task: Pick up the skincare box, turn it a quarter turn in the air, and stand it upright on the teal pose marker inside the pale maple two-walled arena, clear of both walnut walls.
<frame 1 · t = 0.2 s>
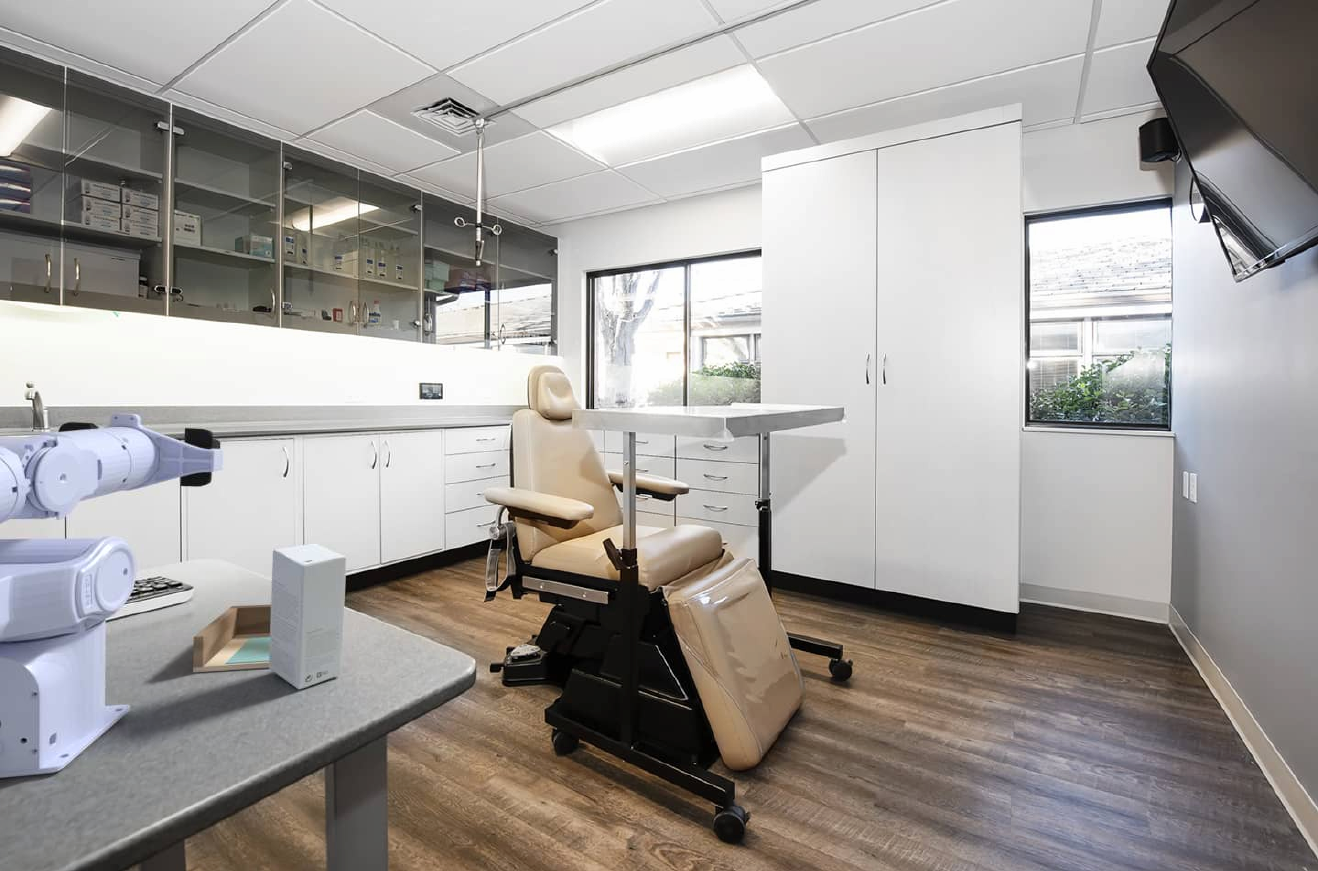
hand: (174, 448, 65), 21 cm above the table, tool horizontal, fingers open, 7 cm apart
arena: (273, 649, 66), on the table
skincare box: (305, 673, 61), on the table, touching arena
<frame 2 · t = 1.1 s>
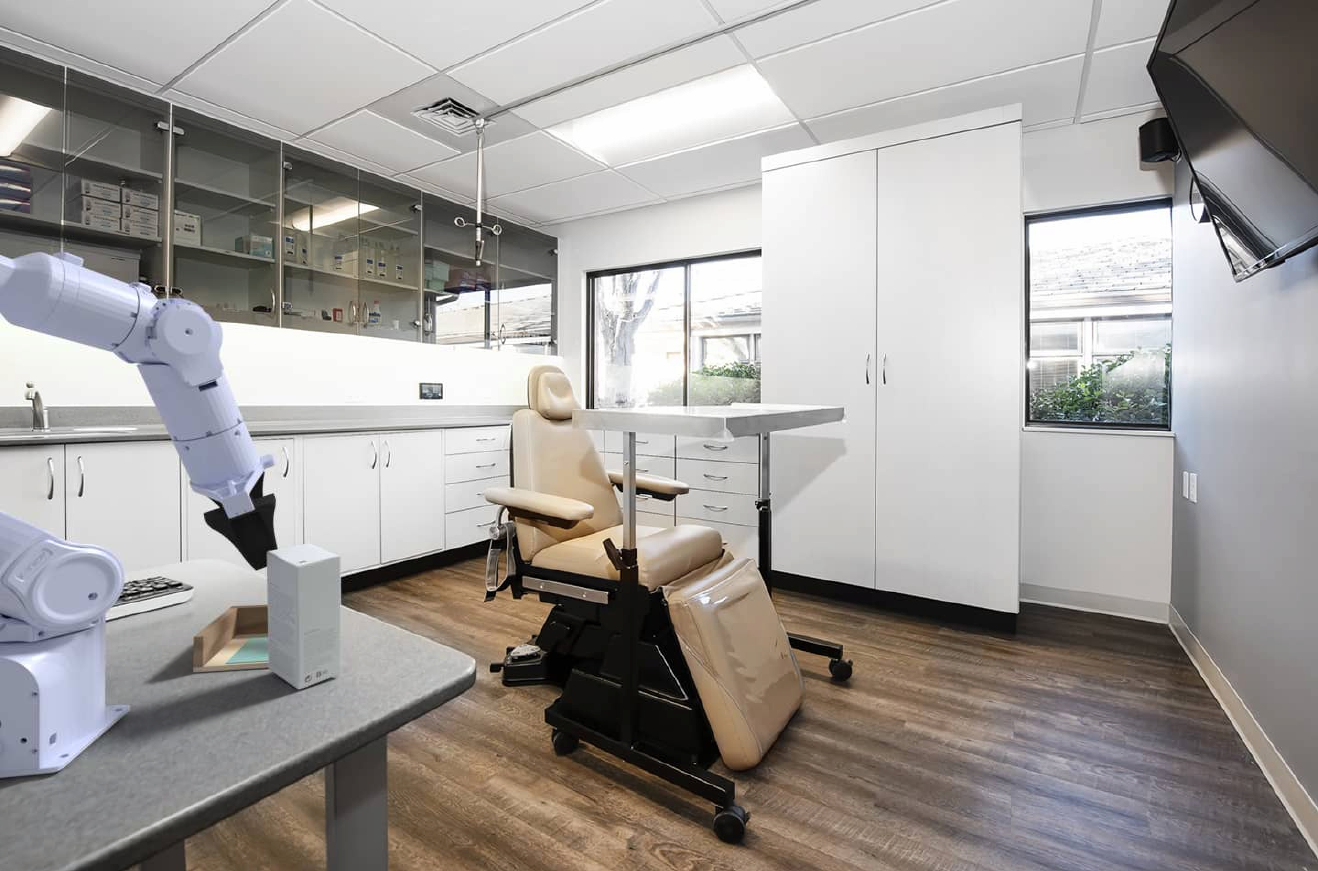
hand: (262, 551, 63), 11 cm above the table, tool tilted 25°, fingers open, 6 cm apart
skincare box: (305, 673, 61), on the table, touching gripper
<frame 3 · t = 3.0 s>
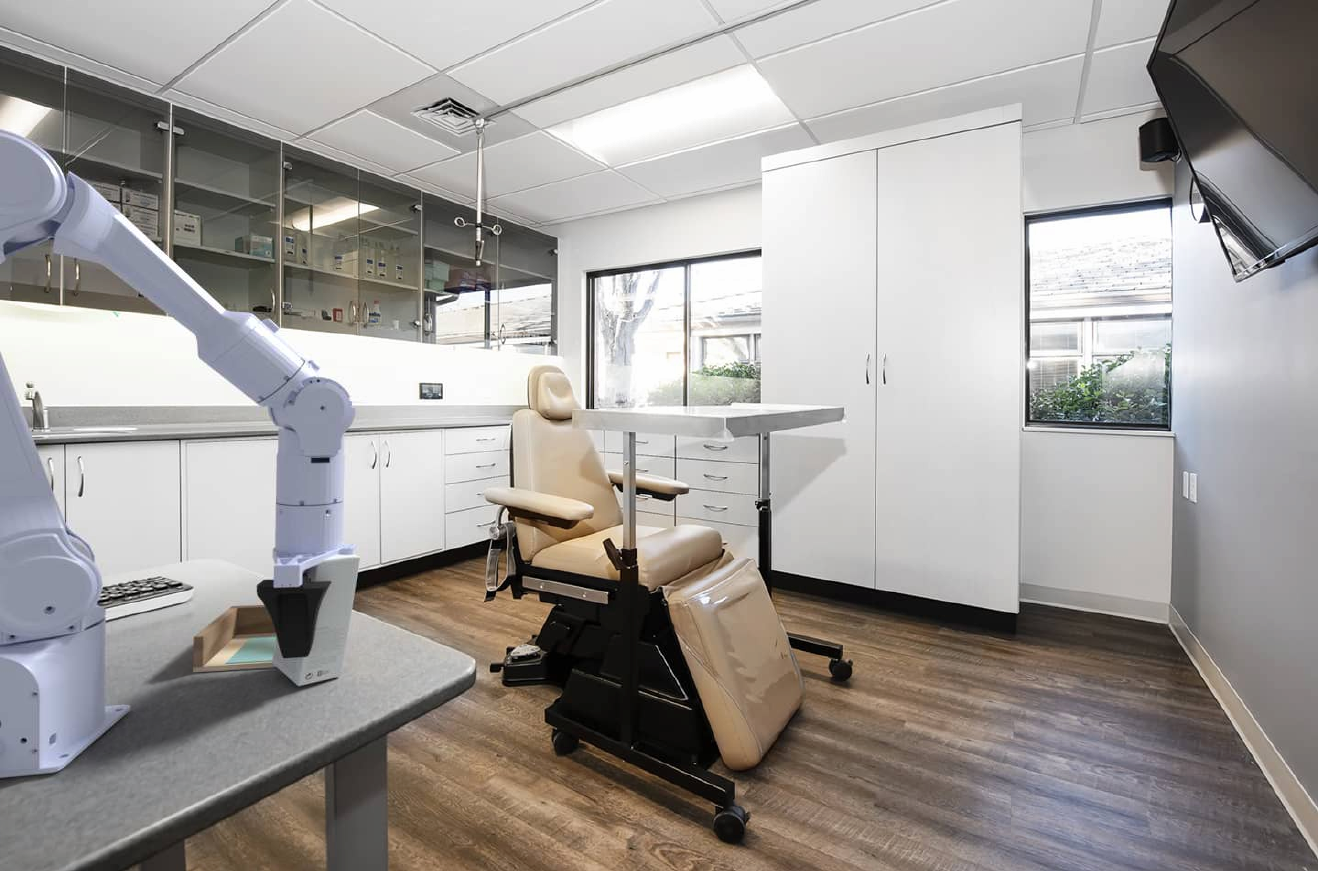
hand: (307, 640, 60), 3 cm above the table, tool pointing down, fingers open, 7 cm apart
skincare box: (306, 671, 61), on the table, touching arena, gripper
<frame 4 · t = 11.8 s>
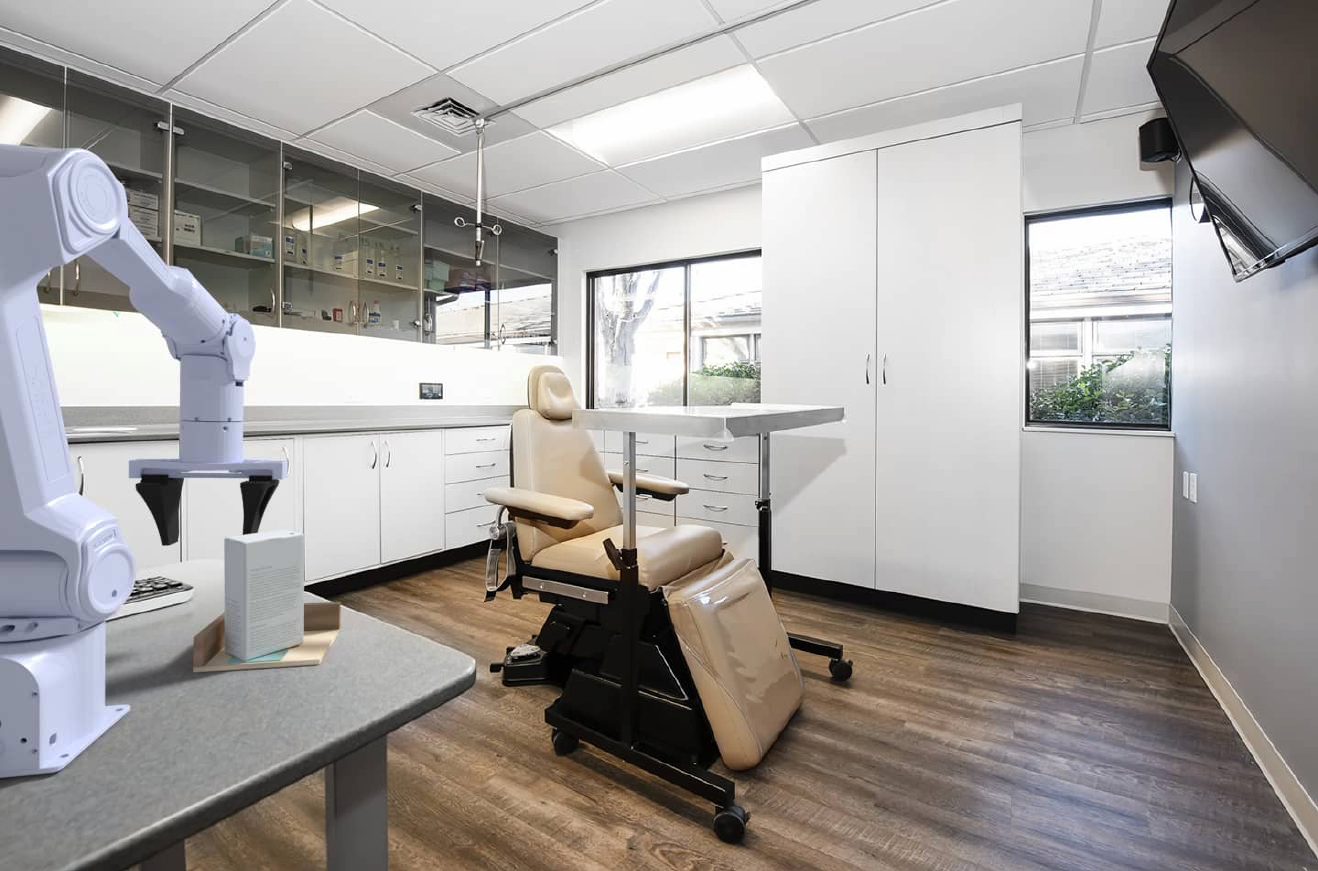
hand: (210, 543, 69), 10 cm above the table, tool pointing down, fingers open, 7 cm apart
skincare box: (263, 650, 65), resting on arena
at the end: skincare box 0.4 cm from the target spot, resting on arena; skincare box tilted 0°; the gripper is holding nothing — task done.
